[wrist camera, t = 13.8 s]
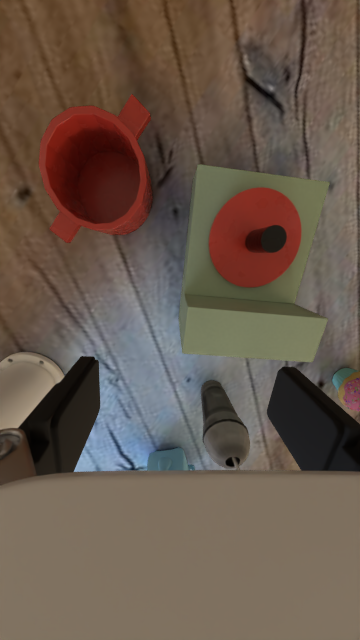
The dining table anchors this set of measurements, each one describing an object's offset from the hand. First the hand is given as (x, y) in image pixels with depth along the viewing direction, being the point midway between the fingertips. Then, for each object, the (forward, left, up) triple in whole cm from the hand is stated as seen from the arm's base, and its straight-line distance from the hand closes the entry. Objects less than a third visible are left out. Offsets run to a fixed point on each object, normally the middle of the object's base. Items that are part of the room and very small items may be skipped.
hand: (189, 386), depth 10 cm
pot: (-11, +14, -26) cm, 31 cm away
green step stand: (+9, +6, -26) cm, 29 cm away
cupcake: (+37, -15, -27) cm, 48 cm away
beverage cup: (+9, -20, -27) cm, 35 cm away
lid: (+9, +9, -20) cm, 24 cm away
